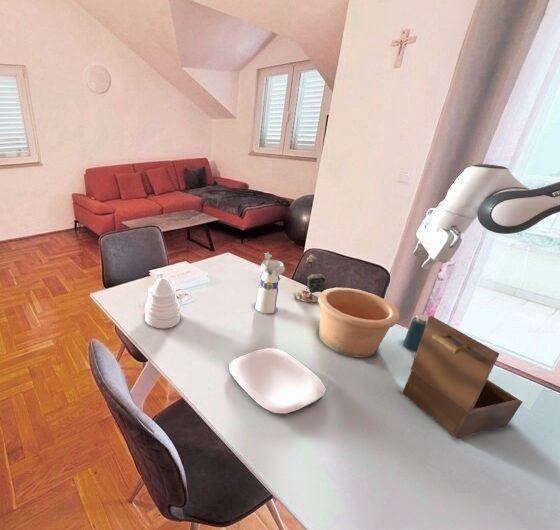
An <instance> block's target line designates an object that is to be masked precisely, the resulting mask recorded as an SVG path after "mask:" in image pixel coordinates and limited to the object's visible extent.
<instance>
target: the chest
mask: <svg viewBox="0 0 560 530" xmlns="http://www.w3.org/2000/svg"><path fill="white" fill-rule="evenodd" d="M401 393H402V394H403V395H404V396H405V397H406V398H408V399H409V400H410V401H411V402H412V403H413V404H415V406H417V407H418V408H419V409H421V410H422V411H423V412H424V413H425V414H426V415H428V416H429V417H430V418H431V419H432V420H434V422H436V423H437V424H438V425H440V427H441V428H443V429H444V430H445V431H447V432H448V433H449V434H450V435H452V437H454V438H455V439H457V438H461V437H467V436H470V435H474V434H478V433H482V432H486V431H490V430H495V429H498V428H504V427H507V426H508V425H509V423H510V422H511V420H512V419H513V418H514V416H515V414H516V413H517V411H518V410H519V408H520V407H521V405H522V404H523V400H521V399H519V398H518V397H516V396H514V395H513V394H511V393H510V392H508V391H506V390H505V389H503V388H502V387H500V386H499V385H497V384H495V383H494V382H492V381H491V380H489V378H488V379H487V381H486V383H485V385H484V387H483V389H482V391H481V393H480V395H479V397H478V399H477V401H476V404H475V406H474V408H473V410H472V412H469V413H468V412H467V411H466V410H464V409H463V408H462V407H460V406H459V405H458V404H456V403H455V402H454V401H452V400H451V399H450V398H448V397H447V396H446V395H444V394H443V393H442V392H440V391H439V390H438V389H436V388H435V387H434V386H432V385H431V384H430V383H428V382H427V381H426V380H425V379H423V378H422V377H421V376H419V375H418V374H417V373H415V372H414V371H413V370H411V371H410V374H409V376H408V379H407V380H406V383H405V385H404V387H403V390H402V392H401Z"/></svg>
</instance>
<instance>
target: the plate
mask: <svg viewBox="0 0 560 530" xmlns="http://www.w3.org/2000/svg"><path fill="white" fill-rule="evenodd" d="M228 369H229V373H230V375H231V376H232V378H233V379H234V381H235V382H236V383H237V384H238V386H240V387H241V388H242V390H243V391H244V392H245V393H246V394H247V395H248V396H249V397H250V398H251V399H252V400H253V401H254V402H255V403H256V404H258V406H260V407H261V408H262V409H264V410H266V411H268V412H270V413H272V414H276V415H277V414H279V415H286V414H290V413H293V412H297V411H299V410H301V409H303V408H306V407H307V406H309V405H311V404H314V403H315V402H317V401H318V400H319V399H321V398H322V397H324V395H325V393H326V389H327V388H326V387H325V385H324V383H323V381H322V380H321V379H320V377H318V376H317V375H316V374H315V373H314V372H313V371H312V370H310V369H309V368H307V366H305V365H304V364H303V363H301V362H300V361H299V360H298V359H296V358H295V357H294V356H292V355H290V354H289V353H288V352H286V351H283V350H282V349H278V348H273V347H272V348H271V347H266V348H262V349H261V348H260V349H257V350H254V351H252V352H249V353H246V354H243V355H240V356H239V357H236V358H234V359H233V360H232V361H231V362H230V363H229V364H228Z"/></svg>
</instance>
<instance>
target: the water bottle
mask: <svg viewBox="0 0 560 530" xmlns="http://www.w3.org/2000/svg"><path fill="white" fill-rule="evenodd" d="M263 255H264V260H263V261H262V262H261V264H260V270H261V273H262V274H260V275H259V276H260V282H259V283H260V284H259V285H258V289H257V295H256V299H255V300H256V301H255V304H254V308H255V310H256V311H257V312H259V313H261V314H269V315H270V314H273V313H275V312H276V310H277V309H276V308H277V300H278V293H279V282H280V280H281V278H280V275H281V274H283V273H284V272H285V271H286V268H285V265H284V263H283V262H282V261H280V260H278V259H271V258H272V257H273V255H272V254H270V251H267V252H263Z"/></svg>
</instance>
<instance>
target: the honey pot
mask: <svg viewBox="0 0 560 530" xmlns="http://www.w3.org/2000/svg"><path fill="white" fill-rule="evenodd" d="M155 275H156V277H157V278H158V279H157V280H156V281H155V283H154V284H153V285H151V286H150V287H148V289H147V294H148V296H147V299H146V303H145V306H144V320H145V322H146V324H147V325H149V327H150V326H151V327H153V328H156V329H170V328H173V327H174V326H176V325H178V324H179V322H180V320H181V305H180V302H179V300H178V296H177V294H176V293H177V289H176V288H175V287H174V286H172V284H171V282H170V281H169V279H167V278H166V277H164V271H162V270H161V271H160V270H157V271H155Z"/></svg>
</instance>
